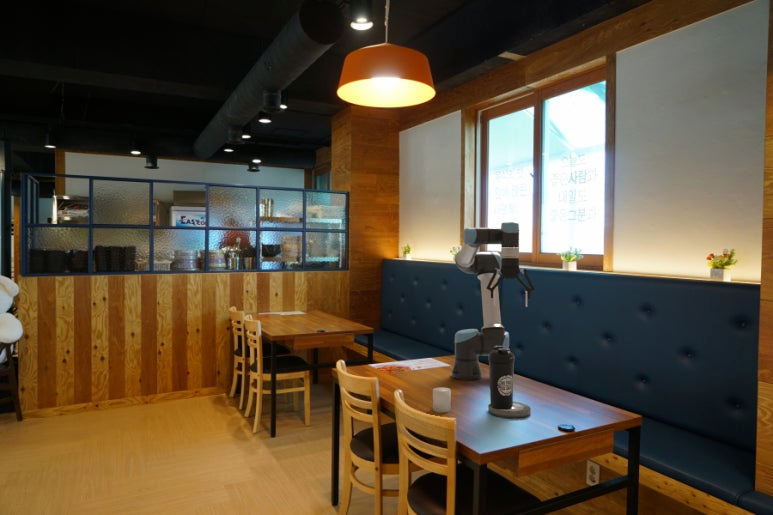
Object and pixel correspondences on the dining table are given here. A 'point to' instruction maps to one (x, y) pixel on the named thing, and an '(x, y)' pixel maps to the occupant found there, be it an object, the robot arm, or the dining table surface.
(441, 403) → the white rounded capsule
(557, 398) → the dining table surface
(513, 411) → the grey plate
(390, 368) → the dining table surface
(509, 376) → the water bottle
